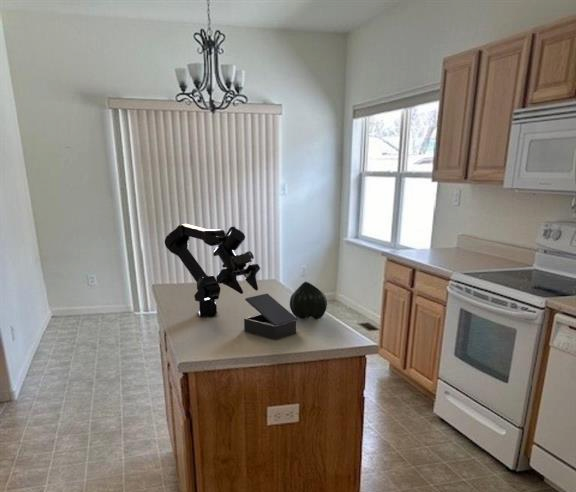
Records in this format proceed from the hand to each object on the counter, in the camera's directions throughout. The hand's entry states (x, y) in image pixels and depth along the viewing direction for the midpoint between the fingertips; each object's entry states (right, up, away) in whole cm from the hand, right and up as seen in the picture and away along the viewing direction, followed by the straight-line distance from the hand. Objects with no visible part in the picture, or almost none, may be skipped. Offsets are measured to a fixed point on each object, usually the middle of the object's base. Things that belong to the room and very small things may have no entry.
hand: (249, 291), depth 199 cm
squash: (+22, -8, +19) cm, 30 cm away
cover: (+8, -8, -5) cm, 12 cm away
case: (+8, -15, -1) cm, 17 cm away
